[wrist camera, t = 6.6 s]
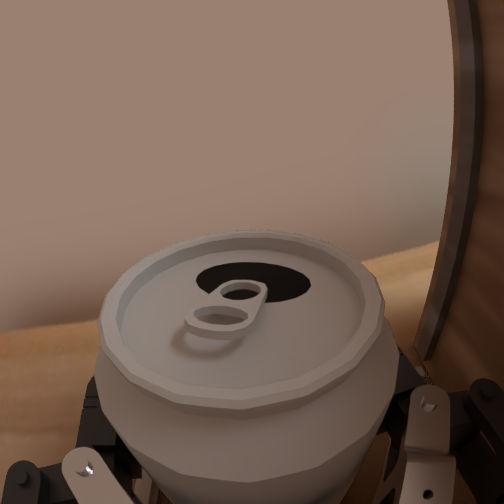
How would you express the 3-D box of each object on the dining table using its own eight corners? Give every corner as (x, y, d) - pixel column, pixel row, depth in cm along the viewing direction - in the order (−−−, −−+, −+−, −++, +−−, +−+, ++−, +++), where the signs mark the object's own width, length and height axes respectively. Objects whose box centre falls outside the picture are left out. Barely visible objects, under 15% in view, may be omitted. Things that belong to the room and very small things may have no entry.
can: (346, 437, 15) (395, 222, 9) (323, 566, 8) (443, 463, 3) (212, 416, 17) (168, 211, 11) (160, 528, 10) (2, 353, 5)
